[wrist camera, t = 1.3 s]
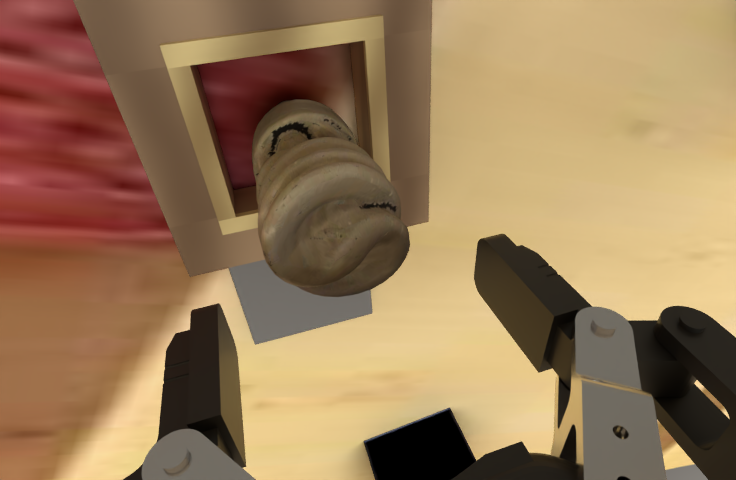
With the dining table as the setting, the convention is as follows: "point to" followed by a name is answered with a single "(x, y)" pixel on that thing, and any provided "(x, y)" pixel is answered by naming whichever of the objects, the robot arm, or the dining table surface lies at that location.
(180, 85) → the socket block
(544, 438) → the dining table surface
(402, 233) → the tan ridged rounded piece
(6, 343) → the dining table surface
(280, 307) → the mat
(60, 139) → the dining table surface
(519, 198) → the dining table surface
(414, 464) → the vase
